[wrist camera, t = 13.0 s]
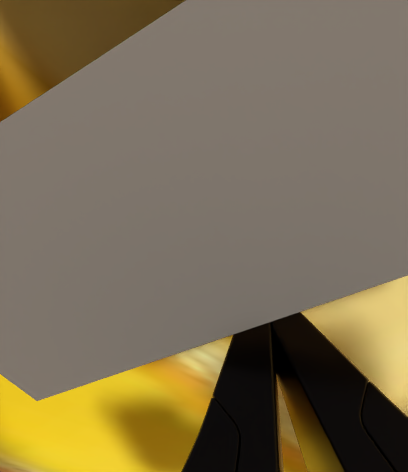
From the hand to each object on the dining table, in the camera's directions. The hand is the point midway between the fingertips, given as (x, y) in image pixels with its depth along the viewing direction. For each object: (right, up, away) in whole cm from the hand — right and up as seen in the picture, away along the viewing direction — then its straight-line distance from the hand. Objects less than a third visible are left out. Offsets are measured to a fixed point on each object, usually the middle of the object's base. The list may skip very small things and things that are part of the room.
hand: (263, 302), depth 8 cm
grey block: (-2, +4, 0) cm, 5 cm away
